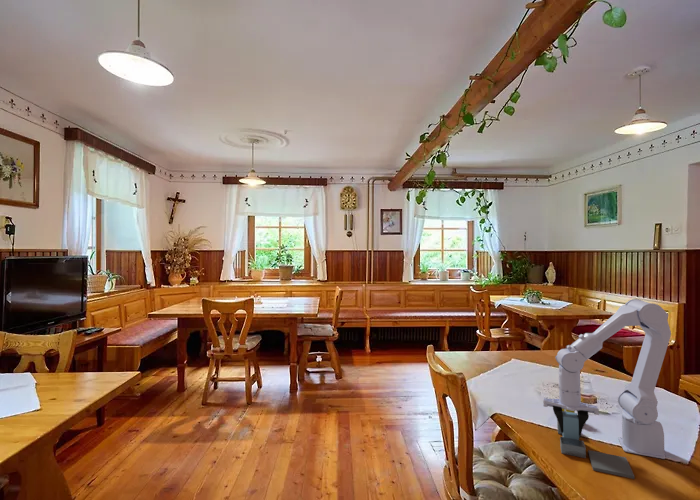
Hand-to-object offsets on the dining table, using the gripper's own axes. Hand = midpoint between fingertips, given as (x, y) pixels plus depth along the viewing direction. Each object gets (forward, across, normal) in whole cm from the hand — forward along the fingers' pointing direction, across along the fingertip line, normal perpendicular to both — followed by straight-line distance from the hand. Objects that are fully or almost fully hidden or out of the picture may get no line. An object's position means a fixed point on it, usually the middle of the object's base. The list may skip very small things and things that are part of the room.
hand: (570, 432), depth 111 cm
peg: (+2, 0, 0) cm, 2 cm away
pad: (+3, +8, -9) cm, 13 cm away
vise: (+3, 0, +1) cm, 3 cm away
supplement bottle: (+3, 0, +17) cm, 17 cm away
